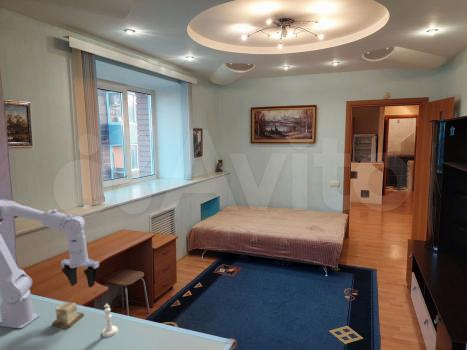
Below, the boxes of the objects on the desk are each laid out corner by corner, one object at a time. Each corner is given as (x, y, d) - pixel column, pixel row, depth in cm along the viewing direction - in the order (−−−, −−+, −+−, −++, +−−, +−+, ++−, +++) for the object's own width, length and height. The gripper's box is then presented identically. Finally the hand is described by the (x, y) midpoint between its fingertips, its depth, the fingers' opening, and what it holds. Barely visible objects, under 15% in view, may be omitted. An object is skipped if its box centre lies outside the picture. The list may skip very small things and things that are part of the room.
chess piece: (112, 337, 101) (109, 308, 100) (98, 336, 102) (95, 307, 101) (120, 328, 106) (117, 300, 105) (107, 326, 107) (104, 299, 106)
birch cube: (57, 321, 110) (55, 309, 109) (66, 313, 114) (65, 302, 113) (68, 322, 109) (66, 310, 108) (77, 314, 113) (75, 303, 112)
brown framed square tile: (52, 325, 109) (51, 322, 109) (67, 314, 116) (67, 311, 116) (69, 328, 108) (68, 324, 107) (83, 316, 114) (83, 312, 114)
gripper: (52, 253, 111) (58, 289, 113) (87, 255, 108) (92, 292, 110) (67, 245, 118) (72, 280, 120) (100, 247, 114) (105, 282, 116)
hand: (82, 285), depth 115 cm, fingers open, 7 cm apart
